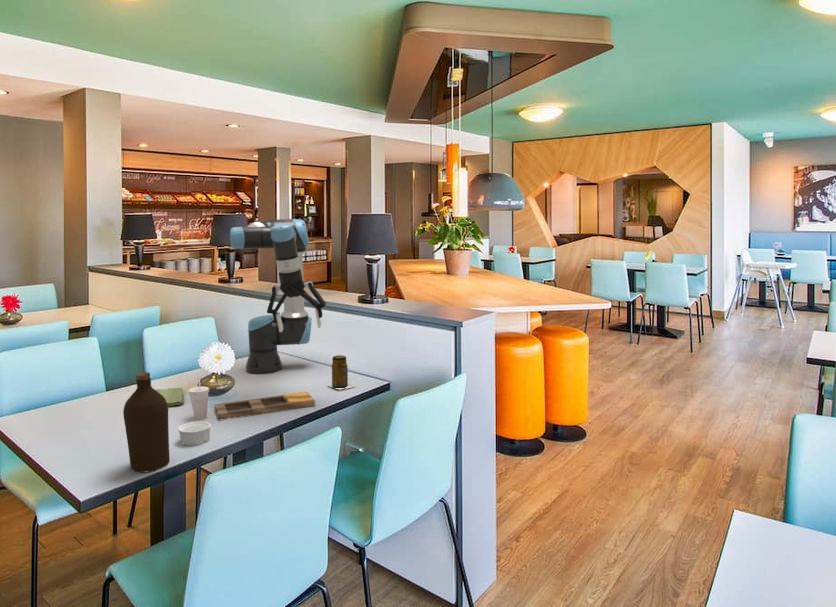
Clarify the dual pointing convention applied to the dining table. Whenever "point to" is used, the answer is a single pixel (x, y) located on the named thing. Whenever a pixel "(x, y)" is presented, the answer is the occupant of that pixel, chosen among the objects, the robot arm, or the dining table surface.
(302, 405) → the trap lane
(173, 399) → the washcloth
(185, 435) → the ramekin
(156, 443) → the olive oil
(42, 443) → the dining table surface
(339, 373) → the condiment
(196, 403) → the smoothie
